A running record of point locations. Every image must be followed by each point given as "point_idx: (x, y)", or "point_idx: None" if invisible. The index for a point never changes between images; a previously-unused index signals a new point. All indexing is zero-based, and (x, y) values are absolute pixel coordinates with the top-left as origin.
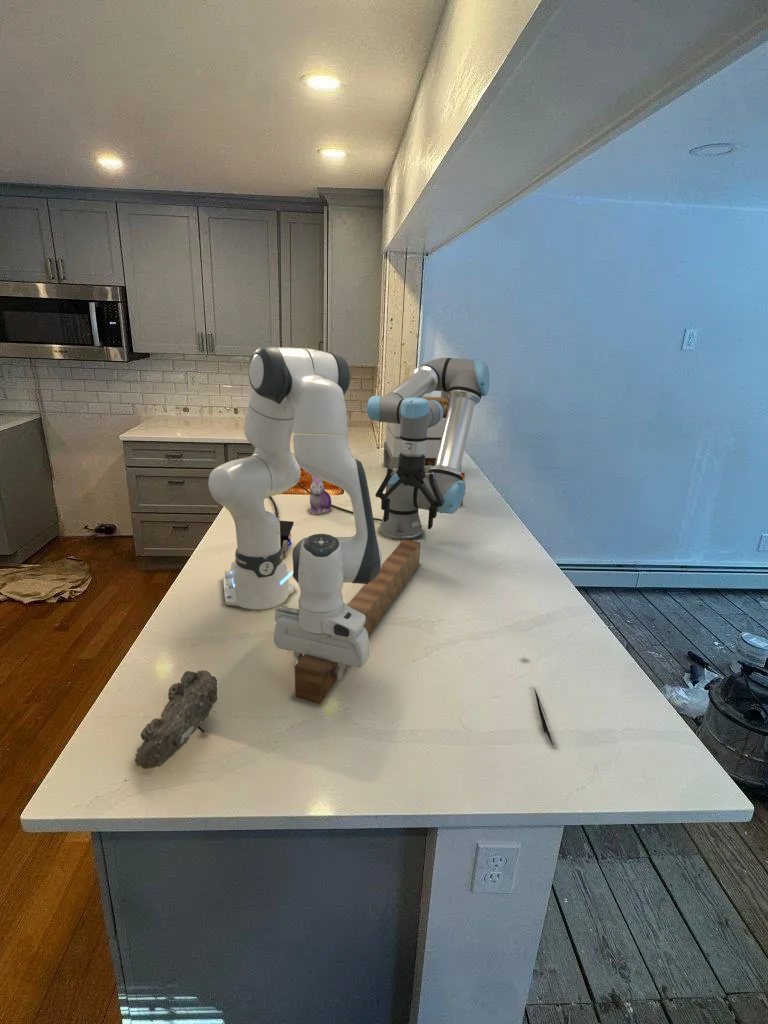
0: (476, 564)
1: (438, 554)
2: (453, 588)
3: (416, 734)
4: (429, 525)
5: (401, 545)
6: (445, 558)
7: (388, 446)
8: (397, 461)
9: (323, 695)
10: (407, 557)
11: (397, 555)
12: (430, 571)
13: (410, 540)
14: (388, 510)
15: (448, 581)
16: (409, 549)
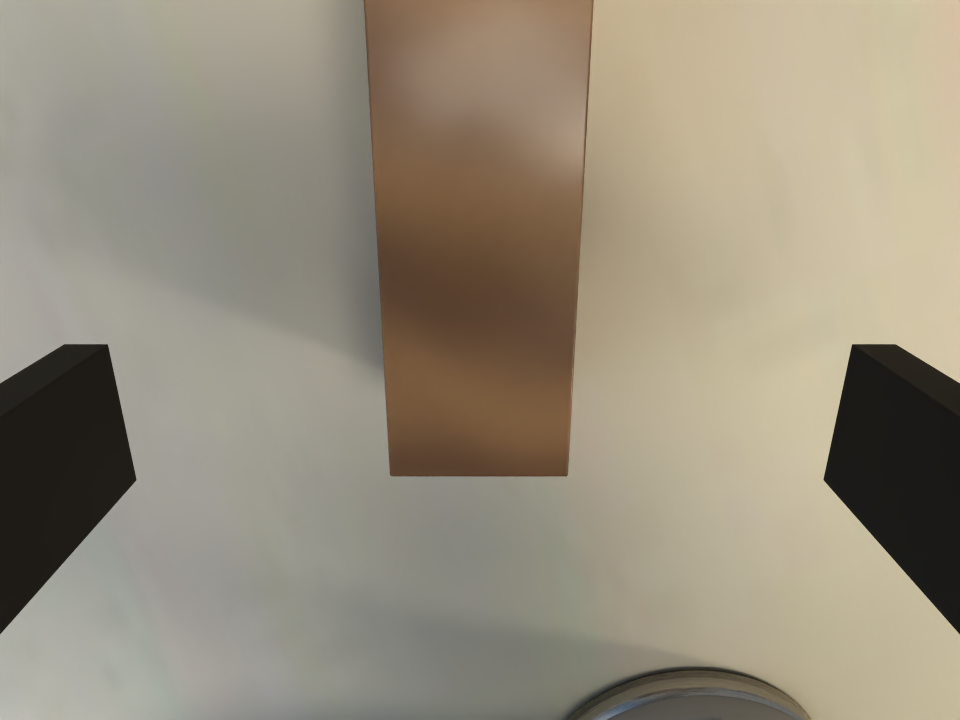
0: None
1: (343, 578)
2: (23, 87)
3: None
4: (41, 367)
5: (543, 323)
6: (278, 541)
7: None
8: None
9: None
10: (381, 28)
11: (506, 36)
12: (297, 305)
13: (495, 473)
14: (930, 544)
15: (110, 195)
16: (434, 259)
